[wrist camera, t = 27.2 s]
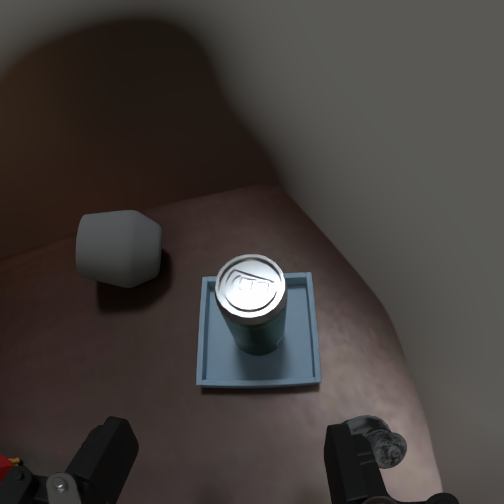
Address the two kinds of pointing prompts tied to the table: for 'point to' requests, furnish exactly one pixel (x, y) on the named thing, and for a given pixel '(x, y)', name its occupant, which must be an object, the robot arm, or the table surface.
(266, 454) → the table surface
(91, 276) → the cup
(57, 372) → the table surface
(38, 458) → the table surface
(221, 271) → the beer can
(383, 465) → the grey chess piece
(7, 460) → the french fries
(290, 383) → the tray
